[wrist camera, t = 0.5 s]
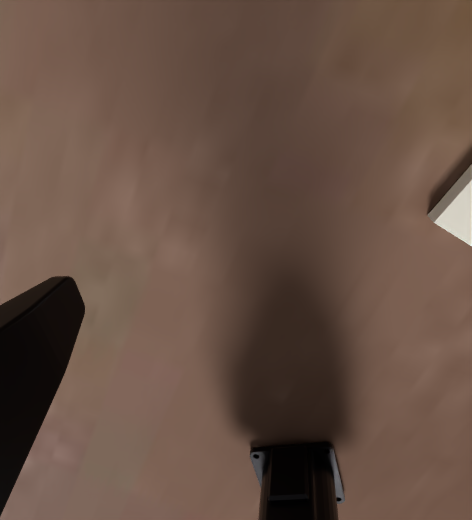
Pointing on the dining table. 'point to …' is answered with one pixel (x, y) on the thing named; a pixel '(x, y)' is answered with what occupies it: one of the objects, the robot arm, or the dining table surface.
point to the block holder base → (456, 209)
